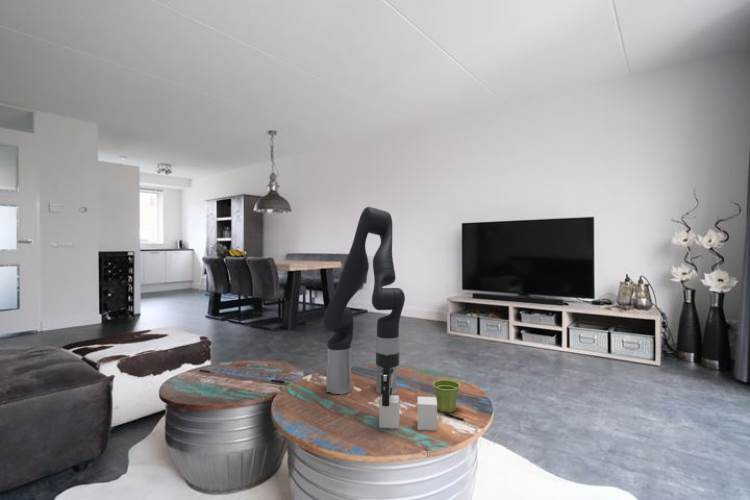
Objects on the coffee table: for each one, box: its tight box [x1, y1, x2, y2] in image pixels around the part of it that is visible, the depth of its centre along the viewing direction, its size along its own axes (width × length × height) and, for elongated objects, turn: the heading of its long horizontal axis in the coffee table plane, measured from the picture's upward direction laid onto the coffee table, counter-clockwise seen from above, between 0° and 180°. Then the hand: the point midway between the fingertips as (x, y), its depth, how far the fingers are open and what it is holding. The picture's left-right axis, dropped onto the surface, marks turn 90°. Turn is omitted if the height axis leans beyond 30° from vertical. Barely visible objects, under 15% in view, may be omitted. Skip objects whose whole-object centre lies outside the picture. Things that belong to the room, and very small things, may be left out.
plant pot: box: [432, 379, 461, 413], centre depth 131 cm, size 9×9×9 cm
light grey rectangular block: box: [417, 396, 438, 432], centre depth 119 cm, size 6×6×8 cm
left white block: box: [378, 394, 400, 429], centre depth 121 cm, size 6×6×8 cm
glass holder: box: [375, 365, 398, 395], centre depth 152 cm, size 9×14×15 cm, turn 166°
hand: (387, 400), depth 120 cm, fingers open, 8 cm apart
